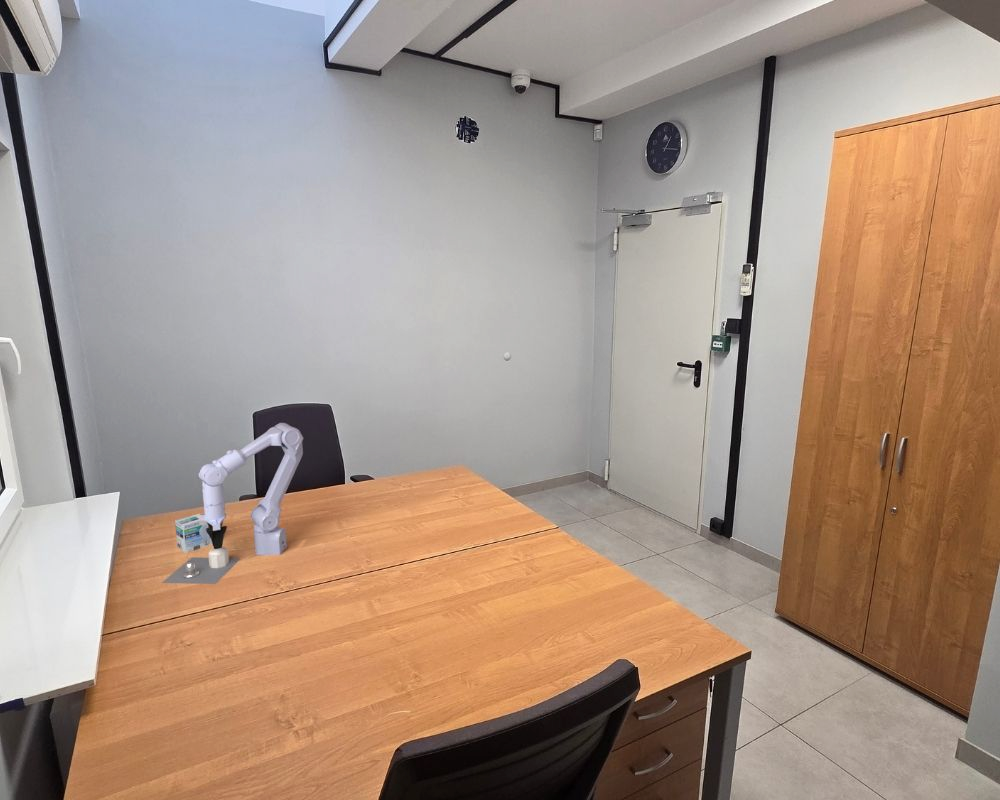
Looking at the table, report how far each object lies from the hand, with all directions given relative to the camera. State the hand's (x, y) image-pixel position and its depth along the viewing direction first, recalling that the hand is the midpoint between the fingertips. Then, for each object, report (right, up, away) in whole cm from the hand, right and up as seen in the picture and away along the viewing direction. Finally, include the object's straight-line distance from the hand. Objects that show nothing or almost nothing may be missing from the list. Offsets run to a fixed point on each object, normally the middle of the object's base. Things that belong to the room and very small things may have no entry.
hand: (217, 543), depth 174 cm
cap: (0, -7, +1) cm, 7 cm away
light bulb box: (-14, -5, +14) cm, 21 cm away
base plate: (-3, -9, -2) cm, 9 cm away
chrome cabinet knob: (-5, -8, -5) cm, 11 cm away
